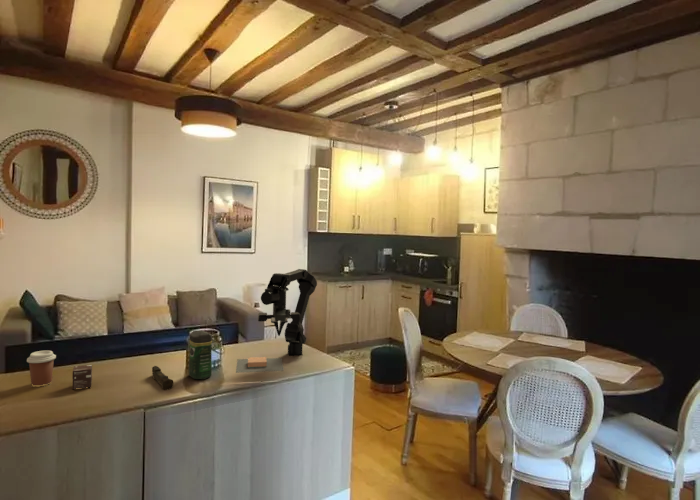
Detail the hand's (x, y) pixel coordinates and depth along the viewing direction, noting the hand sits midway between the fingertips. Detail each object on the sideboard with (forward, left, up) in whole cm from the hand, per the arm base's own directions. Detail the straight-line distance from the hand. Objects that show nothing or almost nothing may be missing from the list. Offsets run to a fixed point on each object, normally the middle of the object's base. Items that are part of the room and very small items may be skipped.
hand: (278, 335), depth 199 cm
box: (+74, +20, -13) cm, 77 cm away
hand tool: (+47, +19, -13) cm, 52 cm away
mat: (+8, +3, -13) cm, 16 cm away
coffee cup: (+89, +15, -13) cm, 91 cm away
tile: (+5, +3, -11) cm, 13 cm away
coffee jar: (+32, +13, -13) cm, 37 cm away
